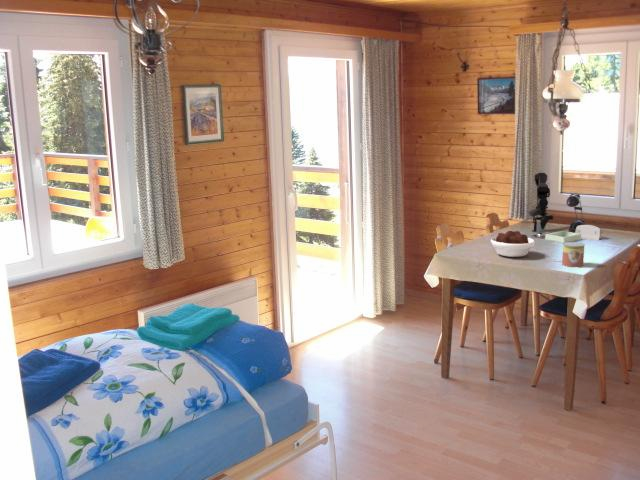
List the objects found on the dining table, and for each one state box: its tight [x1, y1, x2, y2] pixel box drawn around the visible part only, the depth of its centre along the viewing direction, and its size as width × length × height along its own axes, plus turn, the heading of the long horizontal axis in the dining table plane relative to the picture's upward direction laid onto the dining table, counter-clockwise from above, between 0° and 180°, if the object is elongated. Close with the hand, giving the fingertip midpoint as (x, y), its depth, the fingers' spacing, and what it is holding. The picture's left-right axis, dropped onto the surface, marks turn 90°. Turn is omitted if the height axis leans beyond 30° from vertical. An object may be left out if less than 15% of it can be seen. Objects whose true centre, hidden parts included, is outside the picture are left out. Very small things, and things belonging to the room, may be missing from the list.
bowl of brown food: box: [490, 230, 536, 258], centre depth 426 cm, size 25×25×15 cm
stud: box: [530, 232, 546, 239], centre depth 480 cm, size 9×9×2 cm
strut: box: [535, 219, 546, 234], centre depth 479 cm, size 4×4×8 cm
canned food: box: [561, 241, 585, 268], centre depth 402 cm, size 11×11×12 cm
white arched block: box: [574, 224, 602, 241], centre depth 473 cm, size 17×5×10 cm, turn 56°
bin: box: [544, 230, 582, 244], centre depth 469 cm, size 18×14×4 cm
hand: (540, 228), depth 479 cm, fingers closed on strut, 4 cm apart
